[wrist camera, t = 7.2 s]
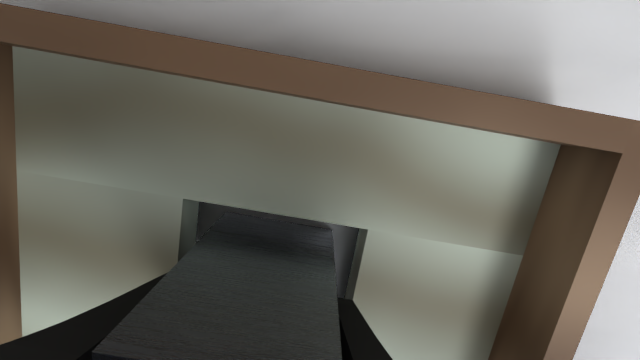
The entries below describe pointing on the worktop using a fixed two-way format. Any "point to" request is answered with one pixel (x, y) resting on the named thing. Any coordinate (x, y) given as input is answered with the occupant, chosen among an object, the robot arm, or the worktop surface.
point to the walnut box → (303, 184)
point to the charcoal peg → (239, 299)
